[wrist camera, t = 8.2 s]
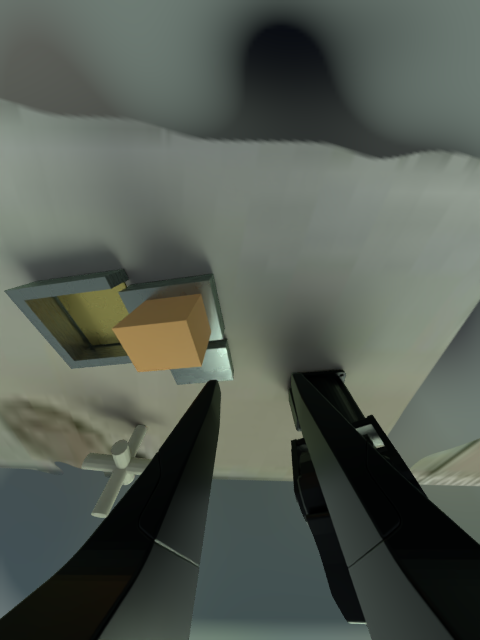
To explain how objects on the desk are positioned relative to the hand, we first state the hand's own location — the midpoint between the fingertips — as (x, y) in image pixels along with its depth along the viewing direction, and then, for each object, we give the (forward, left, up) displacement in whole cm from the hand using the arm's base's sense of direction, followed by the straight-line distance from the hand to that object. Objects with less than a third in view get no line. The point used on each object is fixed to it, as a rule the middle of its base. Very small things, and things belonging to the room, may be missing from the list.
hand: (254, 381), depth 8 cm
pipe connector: (+20, +21, -10) cm, 31 cm away
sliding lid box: (+11, 0, -10) cm, 15 cm away
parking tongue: (+6, +7, -10) cm, 14 cm away
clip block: (+6, 0, -8) cm, 10 cm away
